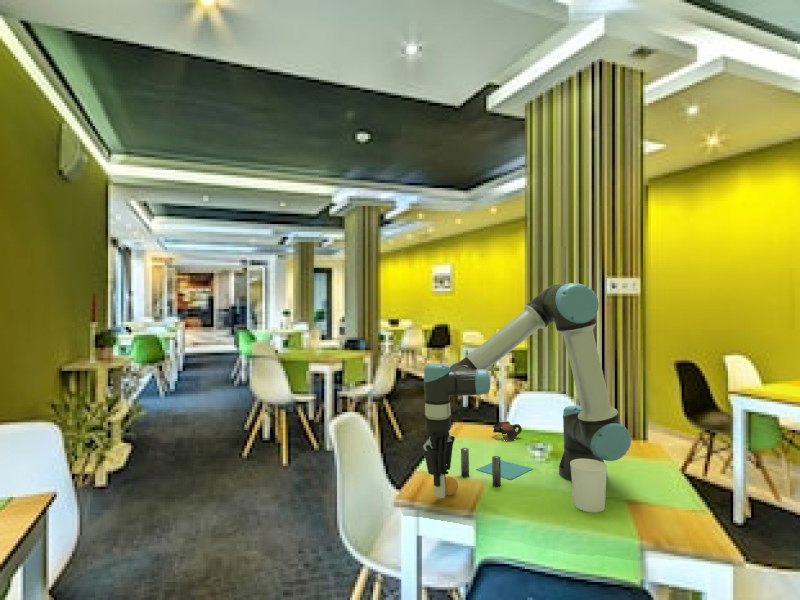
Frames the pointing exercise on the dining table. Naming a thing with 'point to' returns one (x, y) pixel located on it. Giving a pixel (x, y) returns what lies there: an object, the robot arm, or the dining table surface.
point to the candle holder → (588, 484)
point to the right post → (496, 471)
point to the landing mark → (507, 469)
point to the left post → (464, 462)
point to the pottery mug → (507, 430)
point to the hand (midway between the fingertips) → (440, 496)
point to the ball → (450, 486)
